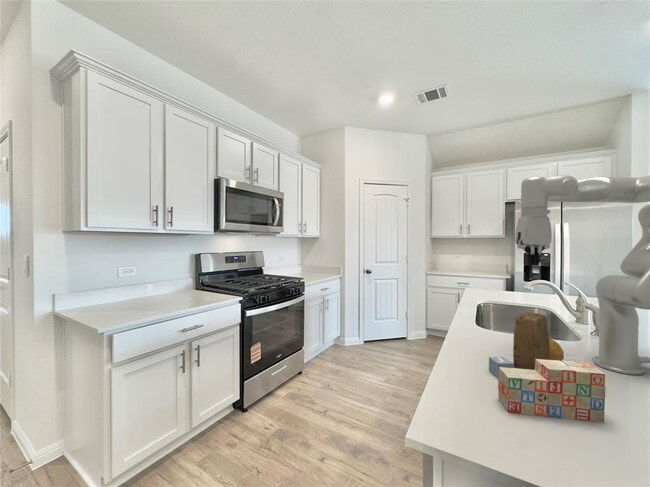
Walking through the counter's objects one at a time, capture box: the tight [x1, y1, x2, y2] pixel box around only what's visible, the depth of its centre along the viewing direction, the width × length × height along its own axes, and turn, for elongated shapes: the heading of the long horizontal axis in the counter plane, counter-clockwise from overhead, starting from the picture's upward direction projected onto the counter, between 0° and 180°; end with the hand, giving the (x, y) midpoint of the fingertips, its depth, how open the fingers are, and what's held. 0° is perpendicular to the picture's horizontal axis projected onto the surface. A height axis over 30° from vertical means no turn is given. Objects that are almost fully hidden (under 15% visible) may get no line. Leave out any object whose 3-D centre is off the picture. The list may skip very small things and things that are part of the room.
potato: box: [549, 337, 565, 361], centre depth 104 cm, size 10×13×9 cm
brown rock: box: [512, 311, 550, 370], centre depth 93 cm, size 11×8×20 cm
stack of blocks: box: [497, 359, 606, 424], centre depth 74 cm, size 21×6×12 cm, turn 79°
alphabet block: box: [488, 356, 514, 380], centre depth 94 cm, size 5×5×5 cm
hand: (533, 265), depth 101 cm, fingers closed
